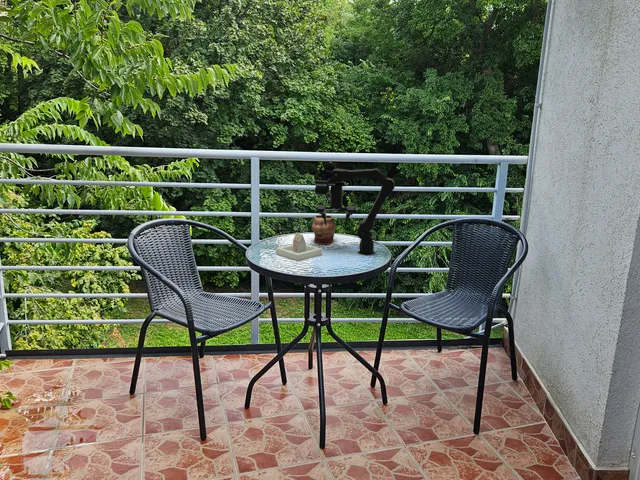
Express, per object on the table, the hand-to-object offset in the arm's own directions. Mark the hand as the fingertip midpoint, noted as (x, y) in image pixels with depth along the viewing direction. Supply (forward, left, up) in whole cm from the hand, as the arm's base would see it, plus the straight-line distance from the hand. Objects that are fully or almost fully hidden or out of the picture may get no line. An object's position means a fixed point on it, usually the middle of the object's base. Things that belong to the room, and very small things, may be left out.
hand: (335, 226), depth 275 cm
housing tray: (+8, +17, -13) cm, 23 cm away
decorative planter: (+18, -10, -13) cm, 25 cm away
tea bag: (+8, +17, -13) cm, 22 cm away
